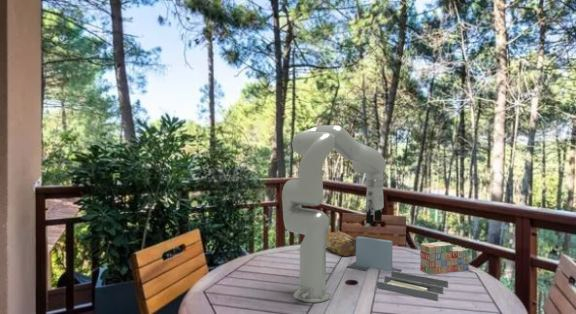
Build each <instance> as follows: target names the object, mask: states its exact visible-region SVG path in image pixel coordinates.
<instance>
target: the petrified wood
mask: <svg viewBox="0 0 576 314" xmlns="http://www.w3.org/2000/svg"><path fill="white" fill-rule="evenodd" d="M326 249H329V250H330V251H331V252H332V253H333V254H337V255H338V256H343V257H350V256H351V255H356V238H354V237H353V236H351V235H349V234H348V233H345V232H342V231H339V230H337V231H333V232H329V233H327V238H326Z"/></svg>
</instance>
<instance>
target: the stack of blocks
mask: <svg viewBox="0 0 576 314" xmlns="http://www.w3.org/2000/svg"><path fill="white" fill-rule="evenodd" d="M419 255H420V265H419V266H420V268H419V269H420V271H421V272H422V273H426V274H427V275H429V276H430V275H431V276H432V275H438V274H439V275H440V274H447V273H454V272H462V271H469V265H470V264H469V262H470V261H469V259H470V258H469V257H470V255H469V249H468V248H464V247H460V246H454V247H453V244H451V243H448V242H445V241H437V242H429V243H427V242H426V243H420V252H419Z"/></svg>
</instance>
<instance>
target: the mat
mask: <svg viewBox="0 0 576 314" xmlns="http://www.w3.org/2000/svg"><path fill="white" fill-rule="evenodd" d="M346 268H348V269H353V270H357V271H364V272H367V271H369V269H371V268H365V267H360V266H356V261H354V262H352V263H350V264H348V265H347V266H346ZM392 271H395V272H400V273H402V271H403V269H400V268H394V267H392V270H391V272H392Z"/></svg>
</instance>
